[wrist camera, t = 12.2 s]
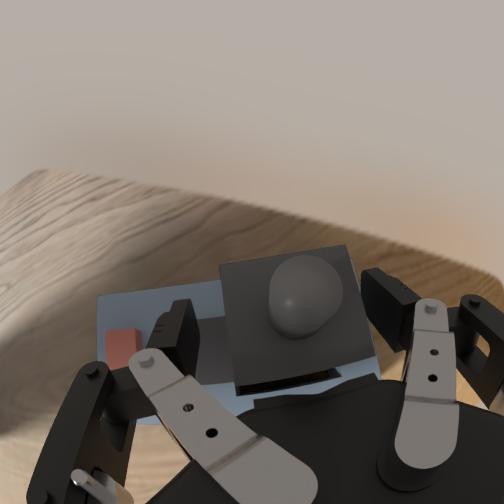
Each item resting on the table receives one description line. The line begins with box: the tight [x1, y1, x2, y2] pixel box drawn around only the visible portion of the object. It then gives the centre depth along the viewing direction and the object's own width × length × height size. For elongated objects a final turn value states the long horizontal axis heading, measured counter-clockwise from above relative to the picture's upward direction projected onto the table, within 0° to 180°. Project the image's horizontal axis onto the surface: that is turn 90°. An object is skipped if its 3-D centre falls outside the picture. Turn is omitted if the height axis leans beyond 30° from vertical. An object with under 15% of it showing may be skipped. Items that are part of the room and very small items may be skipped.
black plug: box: [219, 245, 376, 386], centre depth 11 cm, size 4×4×12 cm
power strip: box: [97, 258, 381, 425], centre depth 15 cm, size 16×8×4 cm, turn 99°
